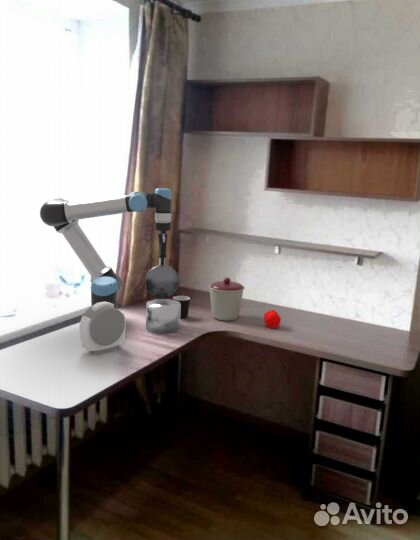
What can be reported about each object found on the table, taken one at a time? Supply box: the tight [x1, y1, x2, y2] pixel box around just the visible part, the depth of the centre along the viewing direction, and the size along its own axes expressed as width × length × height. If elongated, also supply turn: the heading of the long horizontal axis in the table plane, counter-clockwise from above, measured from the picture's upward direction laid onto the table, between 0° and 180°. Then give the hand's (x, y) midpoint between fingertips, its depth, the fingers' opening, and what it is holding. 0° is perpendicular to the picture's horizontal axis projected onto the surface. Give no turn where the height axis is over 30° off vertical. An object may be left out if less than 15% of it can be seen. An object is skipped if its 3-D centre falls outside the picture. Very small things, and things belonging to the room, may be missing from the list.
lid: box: [144, 264, 180, 299], centre depth 242 cm, size 16×16×3 cm
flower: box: [263, 309, 282, 329], centre depth 244 cm, size 8×8×8 cm
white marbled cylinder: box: [145, 298, 181, 335], centre depth 236 cm, size 16×18×12 cm
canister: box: [208, 277, 246, 322], centre depth 254 cm, size 18×18×21 cm
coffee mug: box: [172, 295, 191, 320], centre depth 255 cm, size 12×9×10 cm
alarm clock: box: [79, 301, 127, 356], centre depth 205 cm, size 18×8×20 cm, turn 133°
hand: (162, 270), depth 241 cm, fingers closed
